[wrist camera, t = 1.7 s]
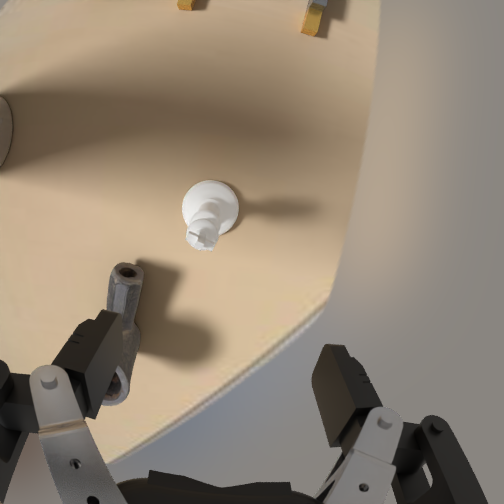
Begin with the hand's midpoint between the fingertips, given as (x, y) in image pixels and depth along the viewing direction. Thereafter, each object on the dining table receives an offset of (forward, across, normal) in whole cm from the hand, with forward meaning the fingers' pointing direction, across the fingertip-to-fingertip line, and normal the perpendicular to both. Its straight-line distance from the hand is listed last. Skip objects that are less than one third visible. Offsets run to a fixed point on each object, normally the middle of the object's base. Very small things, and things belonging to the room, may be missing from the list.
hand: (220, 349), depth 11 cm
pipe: (+17, +9, +11) cm, 22 cm away
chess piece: (+17, +2, -2) cm, 17 cm away
